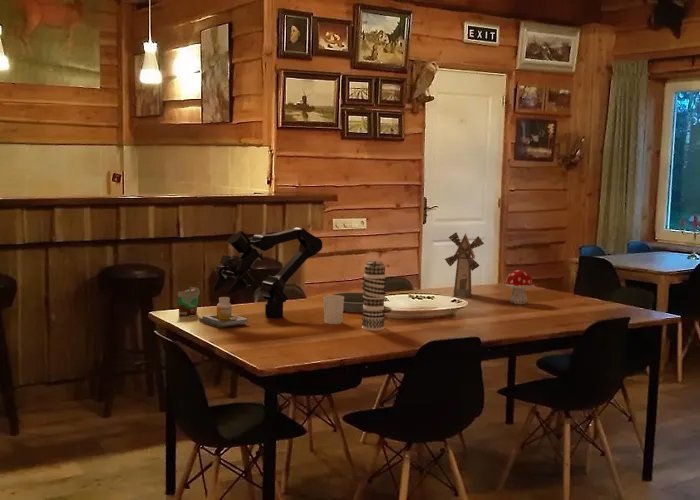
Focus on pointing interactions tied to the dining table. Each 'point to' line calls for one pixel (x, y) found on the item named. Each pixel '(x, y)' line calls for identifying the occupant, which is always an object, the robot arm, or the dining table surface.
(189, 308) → the food container
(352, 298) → the cake pan
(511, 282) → the decorative mushroom
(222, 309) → the supplement bottle
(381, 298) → the decorative candle
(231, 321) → the grey knobbed square frame
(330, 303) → the white cup
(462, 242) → the windmill
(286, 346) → the dining table surface
